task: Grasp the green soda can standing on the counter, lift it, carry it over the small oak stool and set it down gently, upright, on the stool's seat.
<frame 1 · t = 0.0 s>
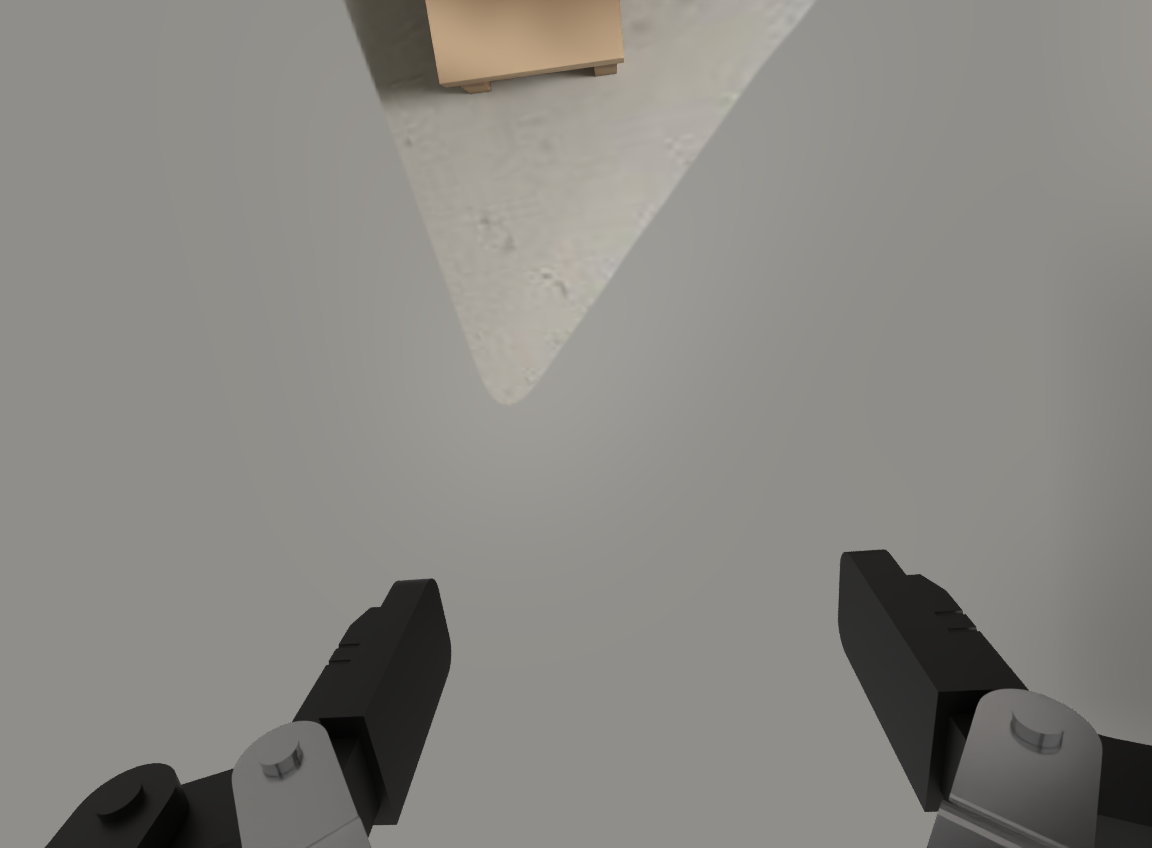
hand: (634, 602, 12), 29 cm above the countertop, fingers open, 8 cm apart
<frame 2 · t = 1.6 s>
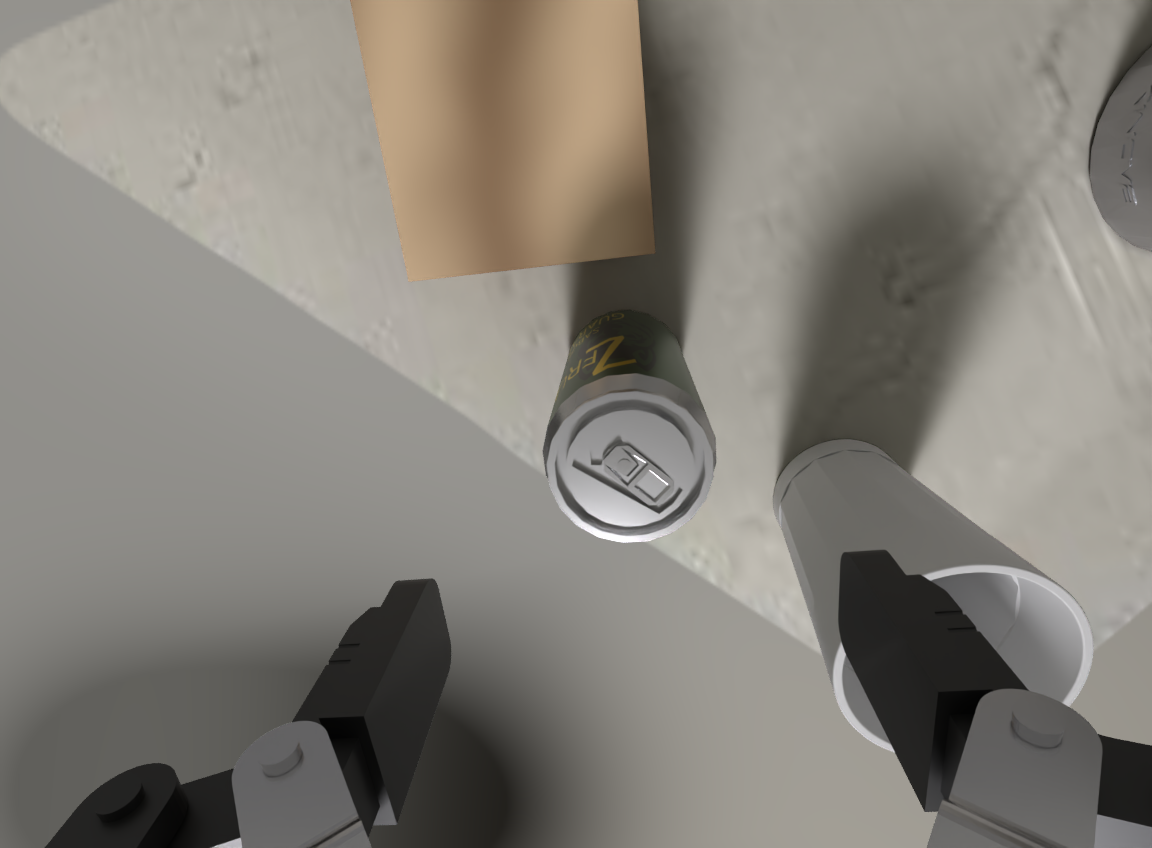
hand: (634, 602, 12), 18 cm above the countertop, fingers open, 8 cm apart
cup: (835, 495, 31), on the countertop
green soda can: (624, 362, 30), on the countertop
stool: (533, 143, 26), on the countertop
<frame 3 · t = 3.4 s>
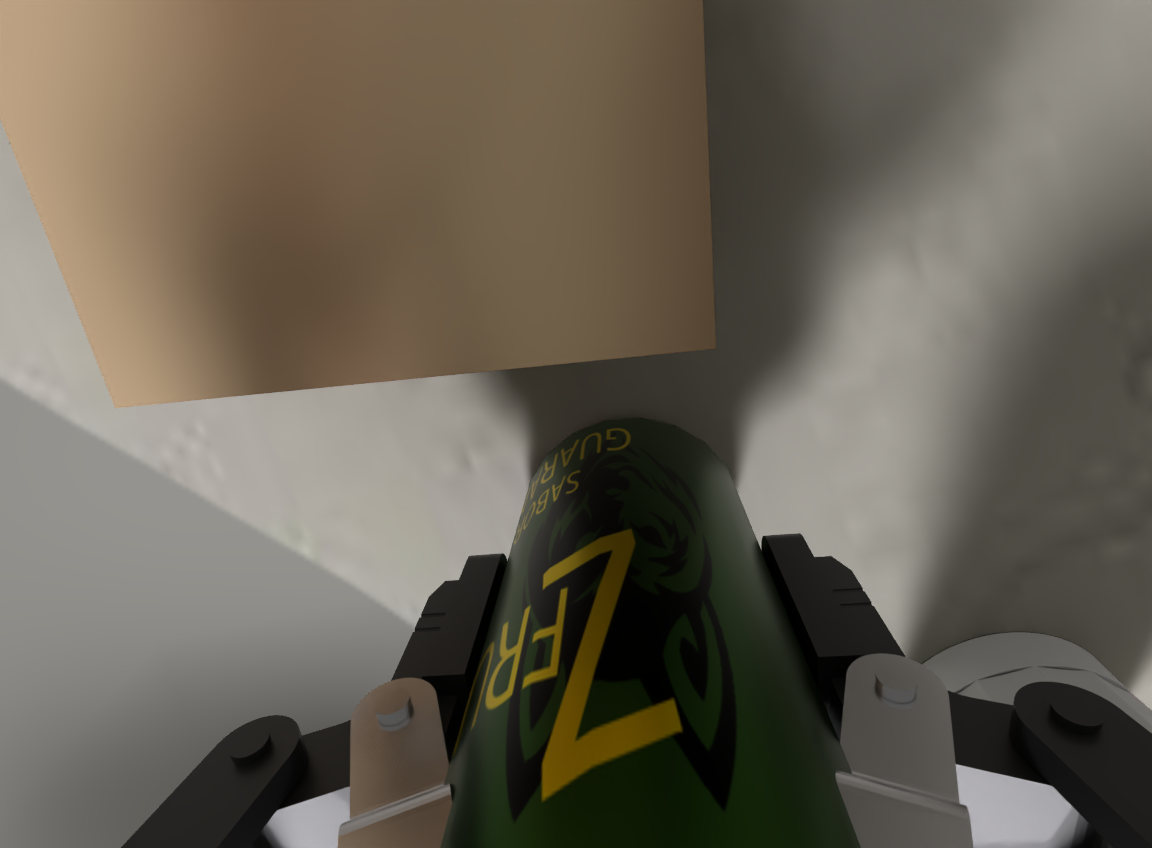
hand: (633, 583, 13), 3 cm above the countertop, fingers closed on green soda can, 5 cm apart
cup: (993, 715, 18), on the countertop
green soda can: (630, 500, 16), on the countertop, touching gripper
stool: (447, 93, 13), on the countertop
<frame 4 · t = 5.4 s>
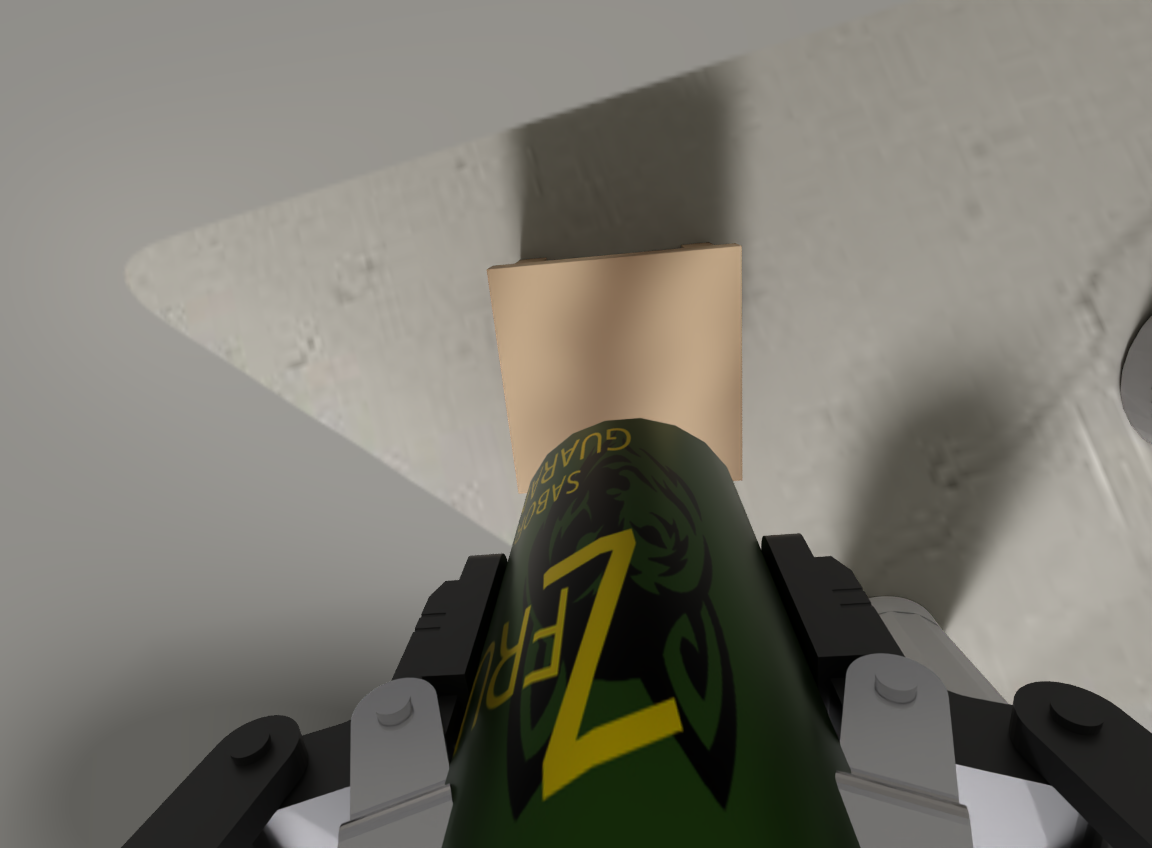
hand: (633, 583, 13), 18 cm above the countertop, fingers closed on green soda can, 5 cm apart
cup: (877, 641, 34), on the countertop
green soda can: (630, 500, 16), point 14 cm above the countertop, touching gripper
stool: (619, 343, 29), on the countertop
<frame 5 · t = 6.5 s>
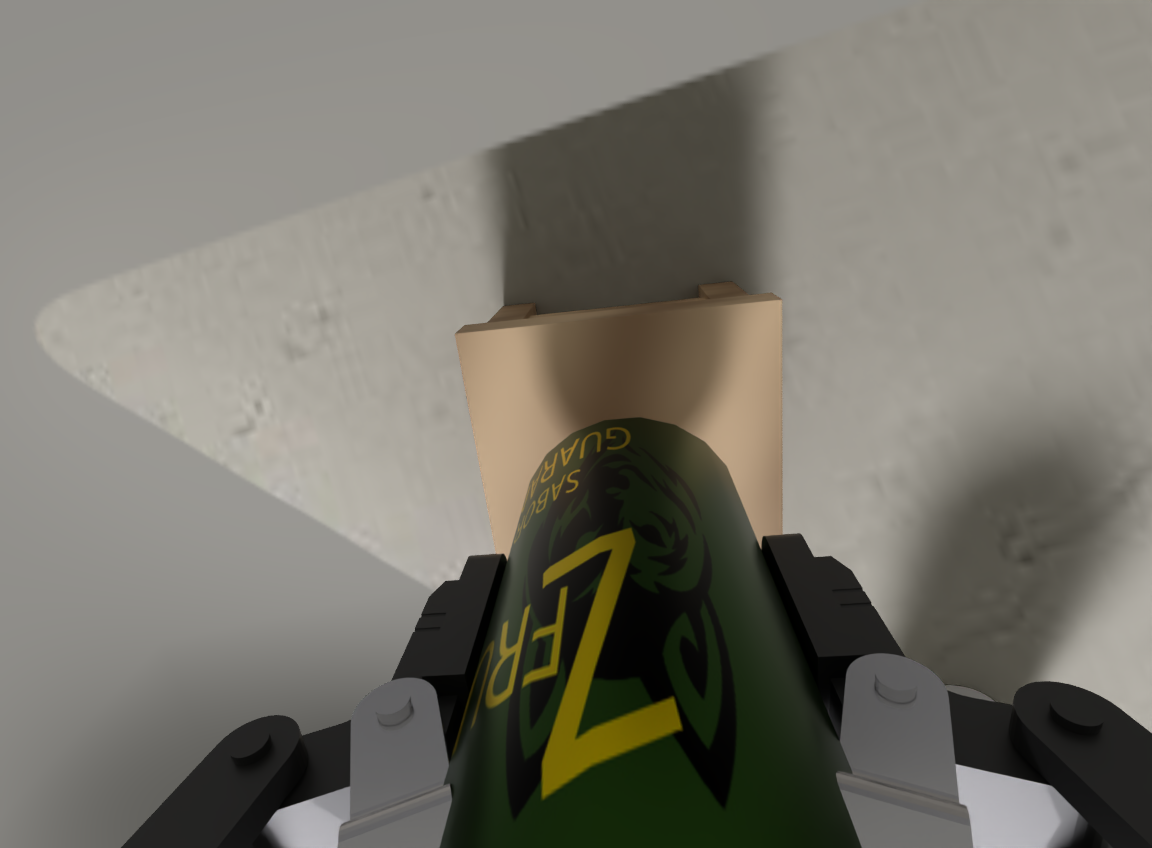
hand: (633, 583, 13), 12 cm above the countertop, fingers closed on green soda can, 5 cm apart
cup: (933, 734, 29), on the countertop
green soda can: (630, 499, 16), point 8 cm above the countertop, touching gripper
stool: (625, 402, 24), on the countertop
when the fingers open (10 cm above the countertop, at t = 7.3 s): green soda can stays where it is, resting on stool.
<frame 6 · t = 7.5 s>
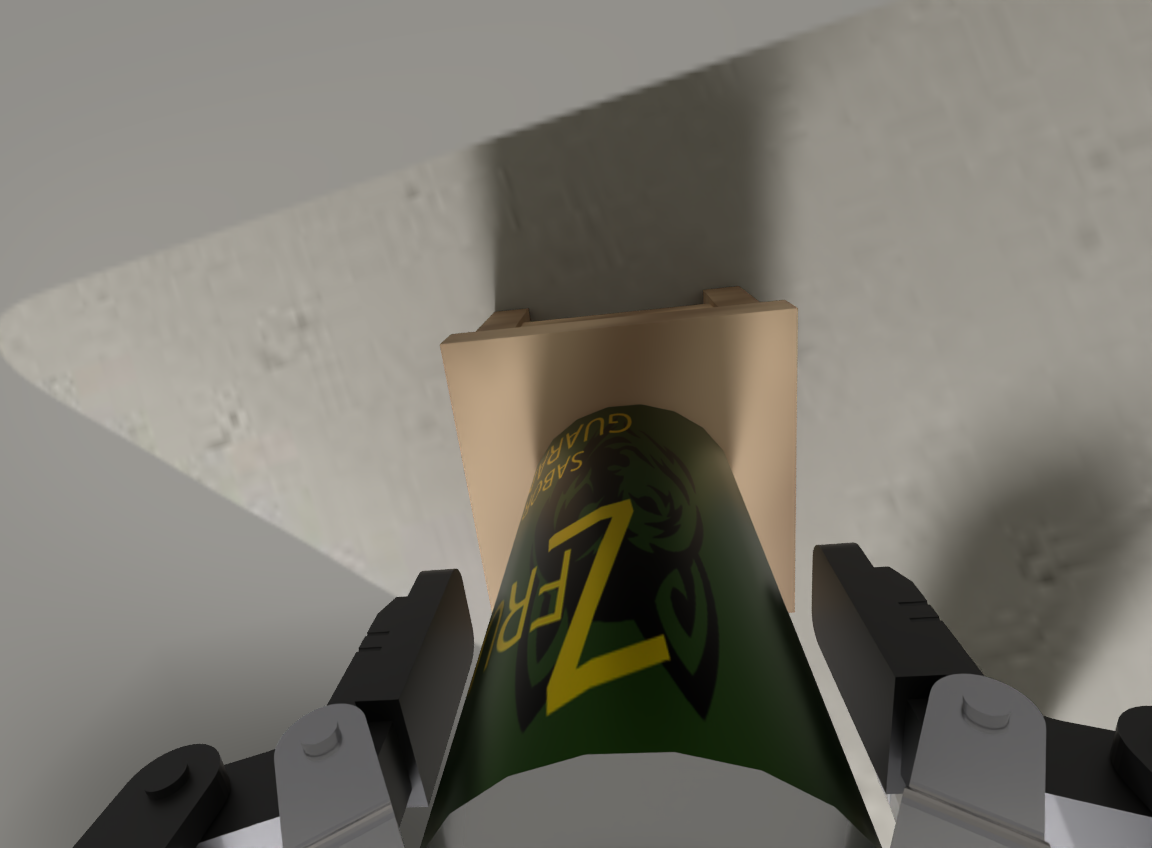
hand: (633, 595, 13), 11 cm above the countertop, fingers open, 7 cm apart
green soda can: (632, 484, 17), point 6 cm above the countertop, touching stool
stool: (625, 413, 23), on the countertop, touching green soda can
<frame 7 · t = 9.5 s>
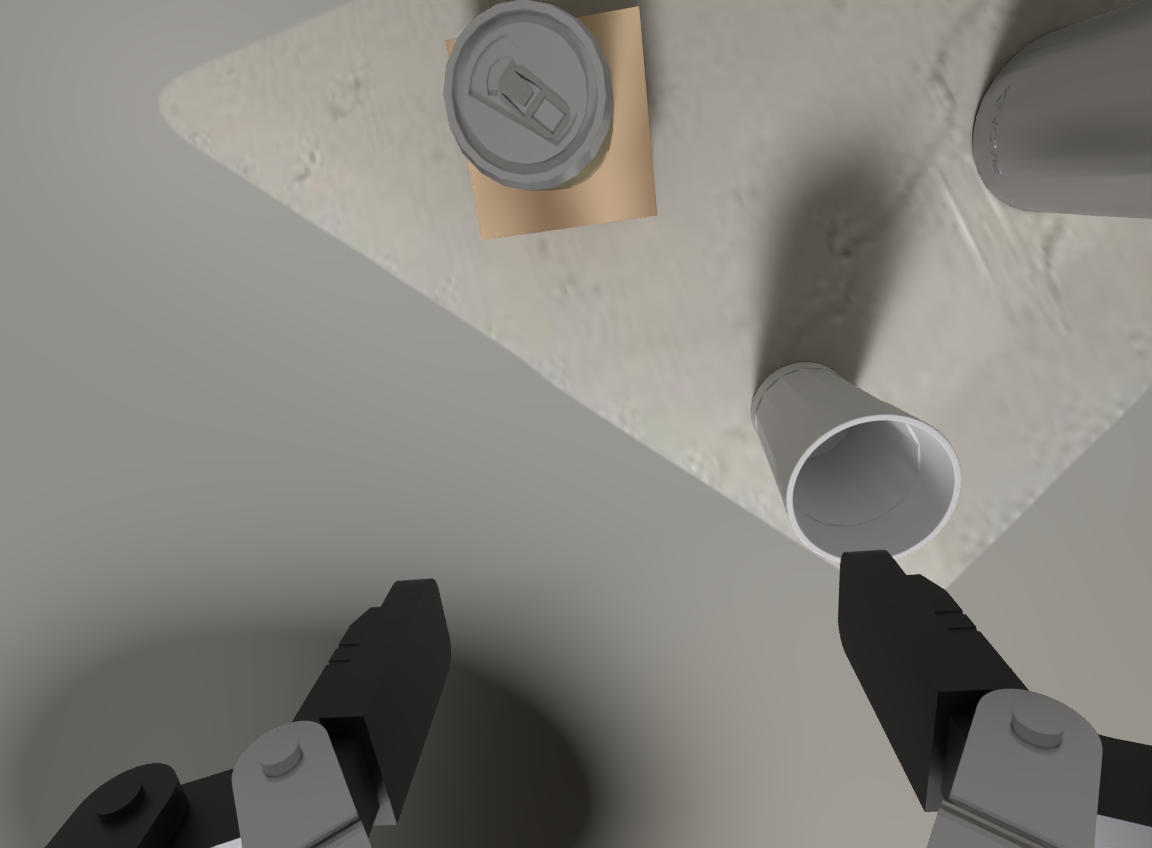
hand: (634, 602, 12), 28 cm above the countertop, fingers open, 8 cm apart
cup: (799, 408, 41), on the countertop
green soda can: (557, 131, 30), point 6 cm above the countertop, touching stool
stool: (564, 140, 35), on the countertop, touching green soda can
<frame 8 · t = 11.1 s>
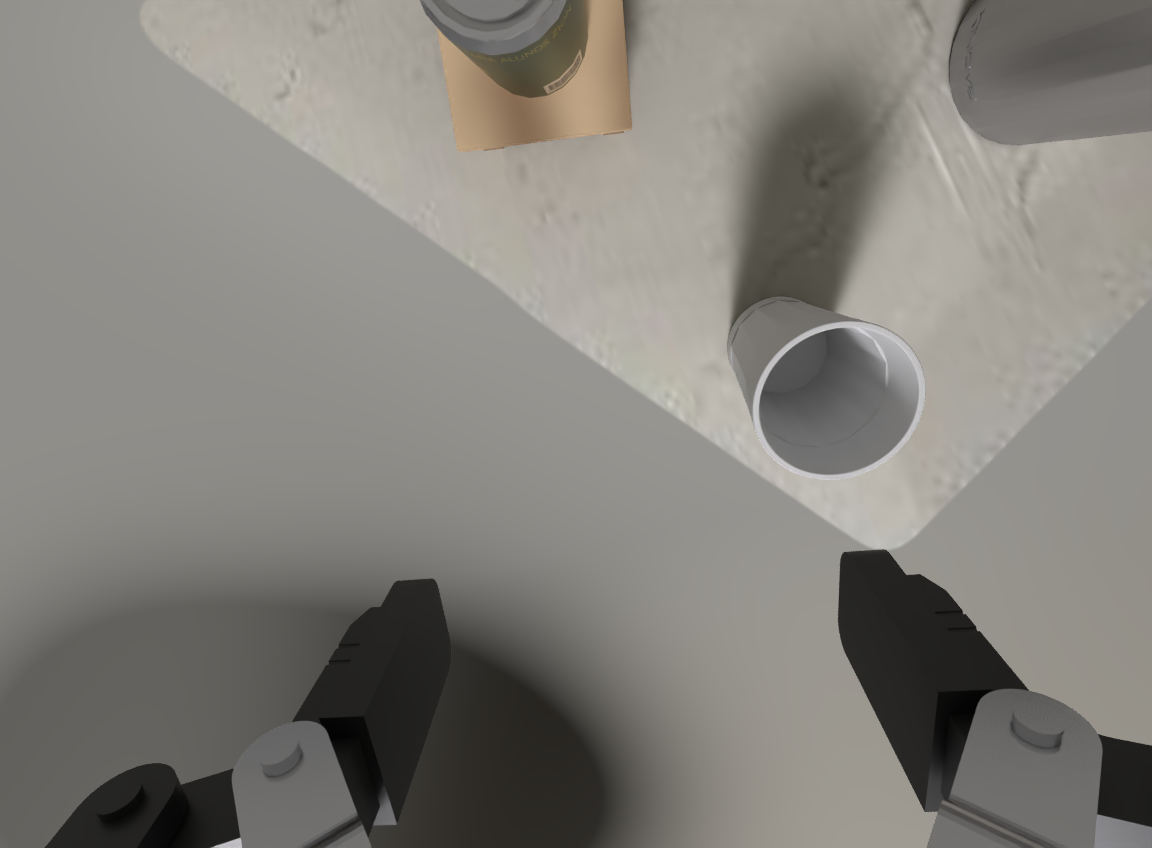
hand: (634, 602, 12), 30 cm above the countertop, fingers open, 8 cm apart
cup: (775, 344, 41), on the countertop
green soda can: (533, 38, 30), point 6 cm above the countertop, touching stool
stool: (544, 62, 36), on the countertop, touching green soda can
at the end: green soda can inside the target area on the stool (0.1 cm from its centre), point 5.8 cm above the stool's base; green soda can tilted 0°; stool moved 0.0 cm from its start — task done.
